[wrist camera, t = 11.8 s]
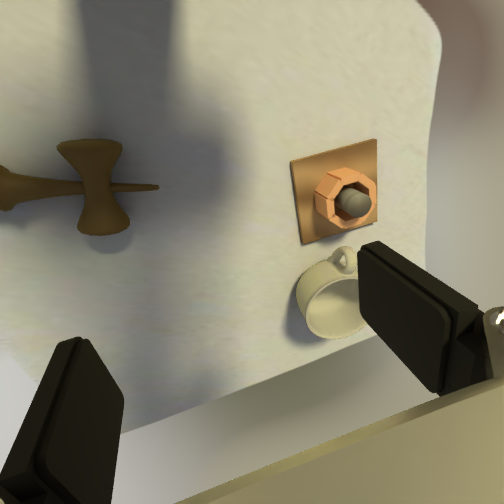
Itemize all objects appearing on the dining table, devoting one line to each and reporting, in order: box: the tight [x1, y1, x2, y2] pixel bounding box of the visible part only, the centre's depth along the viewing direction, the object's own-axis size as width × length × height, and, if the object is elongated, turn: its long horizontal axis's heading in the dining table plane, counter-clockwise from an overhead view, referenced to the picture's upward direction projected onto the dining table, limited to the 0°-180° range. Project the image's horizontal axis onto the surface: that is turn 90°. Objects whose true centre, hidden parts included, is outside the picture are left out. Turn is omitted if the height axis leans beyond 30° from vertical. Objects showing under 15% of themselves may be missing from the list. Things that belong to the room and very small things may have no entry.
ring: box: [314, 167, 376, 229], centre depth 41 cm, size 7×7×4 cm
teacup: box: [296, 246, 367, 339], centre depth 46 cm, size 14×11×8 cm
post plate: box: [290, 139, 377, 244], centre depth 41 cm, size 12×12×6 cm
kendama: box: [0, 139, 160, 236], centre depth 32 cm, size 6×10×20 cm
